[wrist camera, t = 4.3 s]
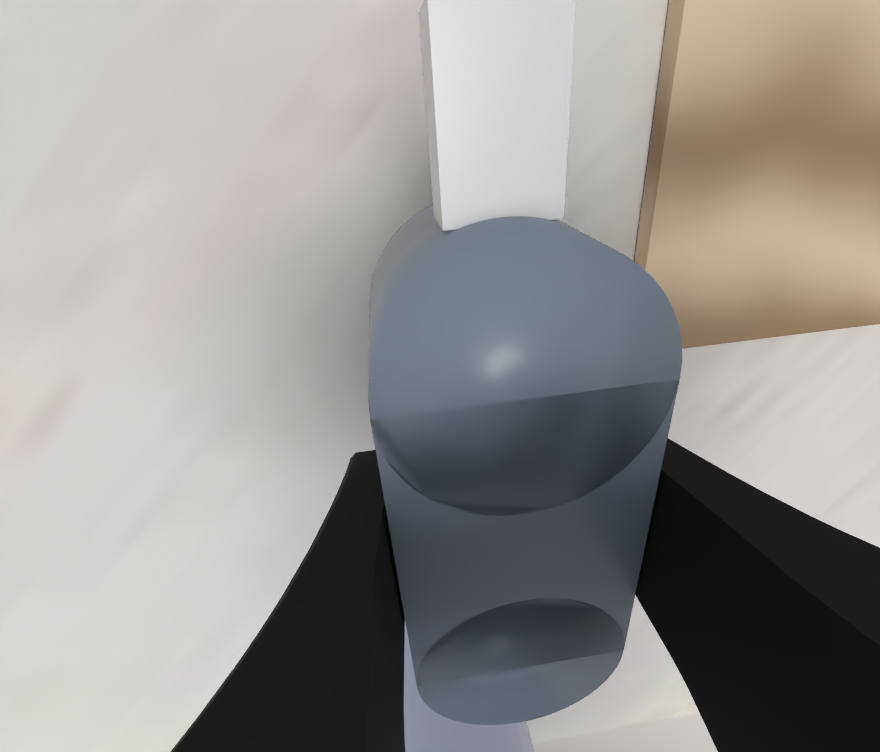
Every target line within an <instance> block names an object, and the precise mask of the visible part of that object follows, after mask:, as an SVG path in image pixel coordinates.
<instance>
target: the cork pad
mask: <svg viewBox="0 0 880 752" xmlns="http://www.w3.org/2000/svg"><path fill="white" fill-rule="evenodd" d="M634 262H635V263H637V264H639V265H640V266H641V267H642V268H643V269H644V270H645V271H646V272H647V273H648V274H650V275H651V276H652V277H653V278H654V280H655V281H656V282H657V283H658V285H659V286H660V287H661V289H662V290H663V291H664V292H665V294H666V296H667V298H668V300H669V302H670V304H671V305H672V307H673V310H674V313H675V316H676V319H677V322H678V325H679V329H680V335H681V342H682V348H690V347H698V346H706V345H714V344H722V343H730V342H738V341H746V340H754V339H762V338H770V337H778V336H786V335H794V334H802V333H810V332H818V331H826V330H834V329H842V328H850V327H858V326H866V325H874V324H880V0H669V5H668V13H667V20H666V28H665V35H664V43H663V50H662V58H661V65H660V73H659V80H658V88H657V95H656V103H655V110H654V117H653V125H652V132H651V140H650V147H649V155H648V162H647V170H646V177H645V185H644V192H643V200H642V207H641V215H640V222H639V230H638V237H637V244H636V252H635V259H634Z"/></svg>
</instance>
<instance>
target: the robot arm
mask: <svg viewBox="0 0 880 752" xmlns="http://www.w3.org/2000/svg"><path fill="white" fill-rule="evenodd" d="M635 595H636V597H637V598H638V600H639V602H640V603H641V605H642V607H643V609H644V610H645V612H646V614H647V615H648V617H649V619H650V621H651V622H652V624H653V626H654V628H655V629H656V631H657V633H658V634H659V636H660V638H661V640H662V641H663V643H664V645H665V646H666V648H667V650H668V652H669V653H670V655H671V657H672V659H673V660H674V662H675V664H676V666H677V668H678V670H679V672H680V674H681V675H682V677H683V679H684V681H685V683H686V685H687V687H688V689H689V691H690V693H691V695H692V697H693V699H694V701H695V704H696V706H697V708H698V710H699V712H700V714H701V716H702V719H703V720H704V723H705V725H706V727H707V729H708V731H709V733H710V736H711V738H712V740H713V742H714V744H715V746H716V748H717V750H718V752H880V548H879V547H877V546H874V545H872V544H870V543H868V542H865V541H863V540H861V539H859V538H856V537H854V536H852V535H850V534H847V533H845V532H843V531H841V530H838V529H836V528H834V527H832V526H830V525H828V524H826V523H824V522H822V521H819V520H817V519H815V518H813V517H811V516H809V515H807V514H805V513H803V512H801V511H799V510H797V509H795V508H793V507H792V506H790V505H788V504H786V503H784V502H782V501H780V500H778V499H776V498H774V497H772V496H770V495H768V494H766V493H764V492H762V491H760V490H759V489H757V488H755V487H753V486H751V485H749V484H747V483H745V482H744V481H742V480H740V479H738V478H736V477H735V476H733V475H731V474H729V473H727V472H726V471H724V470H722V469H720V468H718V467H717V466H715V465H713V464H711V463H710V462H708V461H706V460H704V459H703V458H701V457H699V456H697V455H696V454H694V453H692V452H690V451H689V450H687V449H685V448H684V447H682V446H680V445H678V444H677V443H675V442H673V441H671V440H670V439H668V438H667V442H666V447H665V452H664V457H663V462H662V467H661V471H660V476H659V481H658V486H657V491H656V496H655V500H654V505H653V510H652V515H651V520H650V525H649V529H648V534H647V539H646V544H645V549H644V554H643V559H642V563H641V568H640V573H639V578H638V583H637V588H636V592H635ZM171 752H534V749H533V745H532V741H531V737H530V733H529V729H528V725H527V722H526V721H523V722H518V723H511V724H502V725H476V724H468V723H462V722H458V721H454V720H451V719H448V718H446V717H443V716H441V715H439V714H438V713H436V712H434V711H433V710H432V709H430V708H429V707H428V706H427V705H426V704H425V703H424V702H423V700H422V699H421V697H420V695H419V693H418V689H417V685H416V680H415V674H414V668H413V662H412V657H411V651H410V645H409V639H408V634H407V628H406V622H405V616H404V611H403V605H402V599H401V593H400V588H399V582H398V576H397V570H396V565H395V559H394V553H393V547H392V541H391V536H390V530H389V524H388V518H387V513H386V507H385V501H384V495H383V490H382V484H381V478H380V472H379V467H378V461H377V455H376V450H373V451H365V452H358V453H355V454H354V455H353V456H352V458H351V459H350V462H349V465H348V468H347V471H346V473H345V476H344V478H343V481H342V483H341V485H340V488H339V490H338V492H337V495H336V497H335V499H334V501H333V503H332V506H331V508H330V510H329V512H328V514H327V516H326V518H325V520H324V522H323V524H322V526H321V528H320V530H319V532H318V534H317V536H316V538H315V539H314V541H313V543H312V545H311V547H310V549H309V551H308V553H307V554H306V556H305V558H304V559H303V561H302V563H301V565H300V566H299V568H298V570H297V572H296V573H295V575H294V577H293V578H292V580H291V582H290V584H289V585H288V587H287V589H286V591H285V592H284V594H283V596H282V597H281V599H280V600H279V602H278V604H277V605H276V607H275V608H274V610H273V611H272V613H271V615H270V616H269V618H268V619H267V621H266V622H265V624H264V625H263V627H262V628H261V630H260V631H259V633H258V634H257V636H256V637H255V639H254V640H253V642H252V643H251V645H250V646H249V647H248V649H247V650H246V652H245V653H244V655H243V656H242V658H241V659H240V661H239V662H238V663H237V665H236V666H235V668H234V669H233V670H232V672H231V673H230V674H229V676H228V677H227V678H226V680H225V681H224V682H223V684H222V685H221V687H220V688H219V689H218V691H217V692H216V693H215V695H214V696H213V697H212V699H211V700H210V701H209V703H208V704H207V705H206V707H205V708H204V710H203V711H202V712H201V714H200V715H199V716H198V718H197V719H196V720H195V721H194V723H193V724H192V725H191V727H190V728H189V729H188V730H187V732H186V733H185V734H184V736H183V737H182V738H181V739H180V741H179V742H178V743H177V744H176V746H175V747H174V748H173V749H172V751H171Z"/></svg>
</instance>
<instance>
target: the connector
mask: <svg viewBox="0 0 880 752" xmlns="http://www.w3.org/2000/svg"><path fill="white" fill-rule="evenodd" d="M575 9H576V0H424V2H423V4H422V6H421V9H420V11H419V23H420V37H421V50H422V64H423V77H424V91H425V104H426V118H427V131H428V144H429V158H430V171H431V185H432V198H433V205H430V206H428V207H427V208H425V209H423V210H422V211H420V212H419V213H417V214H416V215H414V216H413V217H412V218H411V219H410V220H408V221H407V222H406V223H405V224H404V225H403V226H402V227H401V228H400V229H399V230H398V231H397V232H396V233H395V235H394V236H393V237H392V238H391V240H390V241H389V243H388V244H387V246H386V247H385V249H384V251H383V253H382V255H381V257H380V259H379V260H378V263H377V266H376V269H375V272H374V274H373V279H372V284H371V289H370V322H369V411H370V421H371V426H372V432H373V438H374V444H375V449H376V455H377V461H378V467H379V472H380V478H381V484H382V490H383V495H384V501H385V507H386V513H387V518H388V524H389V530H390V536H391V541H392V547H393V553H394V559H395V565H396V570H397V576H398V582H399V588H400V593H401V599H402V605H403V611H404V616H405V622H406V628H407V634H408V639H409V645H410V651H411V657H412V662H413V668H414V674H415V680H416V685H417V689H418V693H419V695H420V697H421V699H422V700H423V702H424V703H425V704H426V705H427V706H428V707H429V708H430V709H432V710H433V711H434V712H436V713H438V714H439V715H441V716H443V717H446V718H448V719H451V720H454V721H458V722H462V723H468V724H476V725H502V724H511V723H518V722H523V721H528V720H533V719H536V718H540V717H543V716H546V715H549V714H552V713H554V712H557V711H559V710H562V709H564V708H566V707H568V706H570V705H572V704H574V703H576V702H578V701H579V700H581V699H583V698H584V697H586V696H587V695H589V694H590V693H592V692H593V691H594V690H596V689H597V688H598V687H599V686H600V685H601V684H603V683H604V682H605V681H606V680H607V678H608V677H609V676H610V675H611V674H612V673H613V671H614V670H615V668H616V667H617V665H618V663H619V661H620V659H621V657H622V654H623V650H624V646H625V641H626V636H627V631H628V626H629V621H630V617H631V612H632V607H633V602H634V597H635V592H636V588H637V583H638V578H639V573H640V568H641V563H642V559H643V554H644V549H645V544H646V539H647V534H648V529H649V525H650V520H651V515H652V510H653V505H654V500H655V496H656V491H657V486H658V481H659V476H660V471H661V467H662V462H663V457H664V452H665V447H666V442H667V437H668V433H669V428H670V423H671V418H672V413H673V408H674V404H675V399H676V394H677V389H678V384H679V379H680V372H681V365H682V342H681V335H680V329H679V325H678V322H677V319H676V316H675V313H674V310H673V307H672V305H671V304H670V302H669V300H668V298H667V296H666V294H665V292H664V291H663V290H662V289H661V287H660V286H659V285H658V283H657V282H656V281H655V280H654V278H653V277H652V276H651V275H650V274H648V273H647V272H646V271H645V270H644V269H643V268H642V267H641V266H640V265H639V264H637V263H635V262H634V261H632V260H631V259H629V258H628V257H626V256H625V255H623V254H621V253H620V252H618V251H616V250H614V249H612V248H610V247H608V246H606V245H604V244H603V243H601V242H599V241H597V240H595V239H593V238H591V237H589V236H587V235H586V234H584V233H582V232H580V231H578V230H576V229H574V228H572V227H570V226H569V225H567V224H565V223H563V222H561V221H559V220H557V219H564V205H565V187H566V169H567V151H568V134H569V116H570V98H571V80H572V63H573V45H574V27H575Z"/></svg>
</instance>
